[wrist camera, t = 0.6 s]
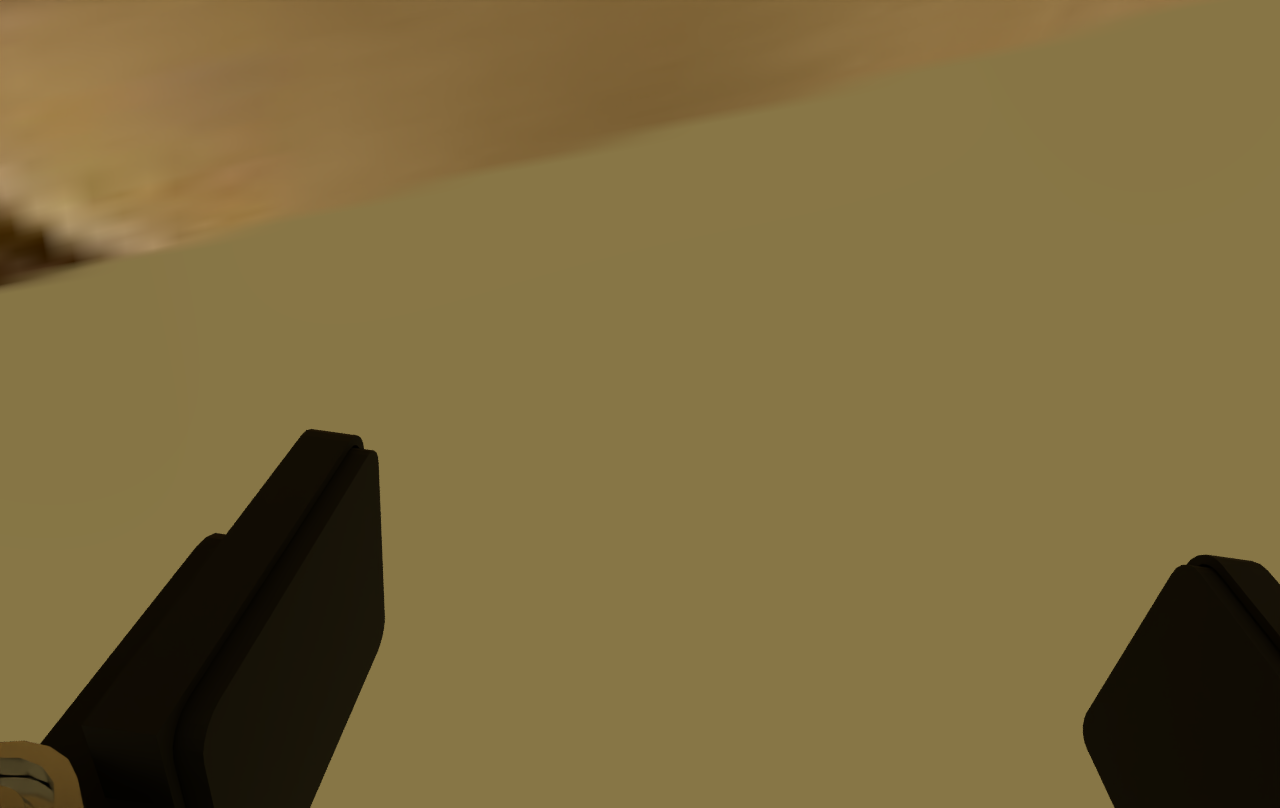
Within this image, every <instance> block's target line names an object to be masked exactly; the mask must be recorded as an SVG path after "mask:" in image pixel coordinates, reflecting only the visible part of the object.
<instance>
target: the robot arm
mask: <svg viewBox="0 0 1280 808" xmlns="http://www.w3.org/2000/svg"><path fill="white" fill-rule="evenodd" d="M378 464H379V463H378V456H377V453H376V452H375V451H373V450H366V449H364V446H363V442H362V439H361V438H360V437H359V436H357V435H350V434H343V433H335V432H328V431H321V430H314V429H310V430H306V431H305V432H304V433H303V434H302V435H301V436H300V438H299V439H298V441H297V442H296V443H295V444H294V446H293V447H292V448H291V450H290V451H289V452H288V454H287V455H286V456H285V458H284V459H283V460H282V462H281V463H280V464H279V465H278V467H277V468H276V469H275V471H274V472H273V473H272V475H271V476H270V477H269V479H268V480H267V481H266V483H265V484H264V485H263V487H262V488H261V489H260V491H259V492H258V493H257V495H256V496H255V497H254V498H253V500H252V501H251V503H250V504H249V505H248V506H247V508H246V509H245V510H244V512H243V513H242V514H241V516H240V517H239V518H238V520H237V521H236V522H235V523H234V525H233V526H232V527H231V529H230V530H229V531H228V533H227V534H226V535H225V534H218V533H215V534H212V535H210V536H208V537H206V538H205V539H204V540H203V541H202V542H201V543H200V544H199V545H198V546H197V547H196V548H195V549H194V550H193V552H192V553H191V554H190V555H189V557H188V558H187V559H186V561H185V562H184V563H183V564H182V565H181V567H180V568H179V569H178V570H177V572H176V573H175V574H174V576H173V577H172V578H171V579H170V581H169V582H168V583H167V584H166V586H165V587H164V588H163V589H162V591H161V592H160V593H159V595H158V596H157V597H156V598H155V600H154V601H153V602H152V603H151V605H150V606H149V607H148V608H147V610H146V611H145V612H144V614H143V615H142V616H141V617H140V619H139V620H138V621H137V622H136V624H135V625H134V626H133V627H132V629H131V630H130V631H129V632H128V634H127V635H126V636H125V637H124V639H123V640H122V641H121V643H120V644H119V645H118V646H117V648H116V649H115V650H114V651H113V653H112V654H111V655H110V656H109V658H108V659H107V660H106V662H105V663H104V664H103V665H102V667H101V668H100V669H99V670H98V672H97V673H96V674H95V675H94V677H93V678H92V679H91V680H90V682H89V683H88V684H87V686H86V687H85V688H84V689H83V691H82V692H81V693H80V694H79V696H78V697H77V698H76V700H75V701H74V702H73V703H72V704H71V706H70V707H69V708H68V709H67V711H66V712H65V713H64V715H63V716H62V717H61V718H60V720H59V721H58V722H57V723H56V725H55V726H54V727H53V728H52V730H51V731H50V732H49V733H48V735H47V736H46V737H45V739H44V740H43V741H42V742H41V744H36V743H32V742H28V741H10V742H0V808H310V806H311V804H312V802H313V799H314V797H315V795H316V792H317V790H318V788H319V786H320V783H321V781H322V779H323V776H324V774H325V772H326V770H327V767H328V764H329V762H330V760H331V758H332V756H333V753H334V751H335V749H336V746H337V744H338V742H339V739H340V737H341V735H342V732H343V730H344V728H345V725H346V723H347V721H348V718H349V716H350V714H351V712H352V709H353V707H354V705H355V702H356V700H357V698H358V695H359V693H360V691H361V688H362V686H363V684H364V682H365V679H366V677H367V675H368V672H369V670H370V668H371V666H372V663H373V661H374V658H375V656H376V654H377V652H378V649H379V646H380V643H381V640H382V635H383V631H384V623H385V610H384V587H383V561H382V537H381V512H380V487H379V465H378ZM1083 736H1084V741H1085V744H1086V747H1087V750H1088V752H1089V754H1090V756H1091V758H1092V760H1093V763H1094V765H1095V767H1096V769H1097V771H1098V773H1099V775H1100V777H1101V780H1102V782H1103V784H1104V786H1105V788H1106V790H1107V793H1108V795H1109V797H1110V799H1111V801H1112V803H1113V805H1114V807H1115V808H1280V584H1279V583H1278V582H1277V581H1276V580H1275V578H1274V577H1273V576H1272V575H1271V574H1270V573H1269V571H1268V570H1266V569H1265V568H1264V567H1263V566H1262V565H1260V564H1258V563H1256V562H1253V561H1247V560H1240V559H1234V558H1226V557H1219V556H1212V555H1199V556H1196V557H1195V558H1193V559H1191V560H1190V561H1189V562H1188V564H1187V565H1181V566H1179V567H1178V568H1176V569H1175V570H1174V572H1173V573H1172V574H1171V576H1170V578H1169V579H1168V581H1167V583H1166V584H1165V586H1164V587H1163V589H1162V591H1161V592H1160V594H1159V595H1158V597H1157V599H1156V600H1155V602H1154V604H1153V605H1152V607H1151V608H1150V610H1149V612H1148V613H1147V615H1146V617H1145V619H1144V620H1143V622H1142V623H1141V625H1140V627H1139V628H1138V630H1137V631H1136V633H1135V635H1134V636H1133V638H1132V640H1131V641H1130V643H1129V644H1128V646H1127V648H1126V650H1125V651H1124V653H1123V654H1122V656H1121V658H1120V659H1119V661H1118V663H1117V664H1116V666H1115V667H1114V669H1113V671H1112V672H1111V674H1110V675H1109V677H1108V679H1107V680H1106V682H1105V684H1104V685H1103V687H1102V689H1101V690H1100V692H1099V693H1098V695H1097V697H1096V698H1095V700H1094V702H1093V703H1092V705H1091V707H1090V708H1089V710H1088V711H1087V713H1086V716H1085V718H1084V723H1083Z"/></svg>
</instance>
